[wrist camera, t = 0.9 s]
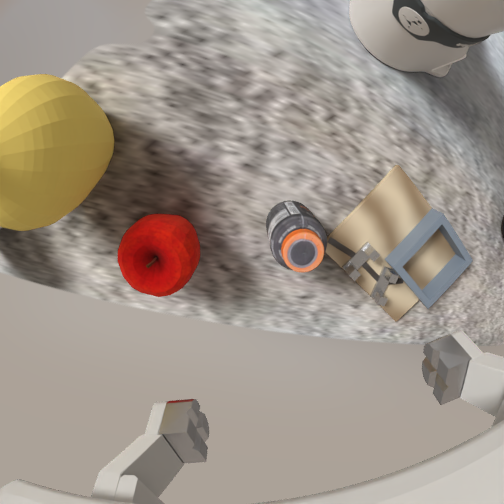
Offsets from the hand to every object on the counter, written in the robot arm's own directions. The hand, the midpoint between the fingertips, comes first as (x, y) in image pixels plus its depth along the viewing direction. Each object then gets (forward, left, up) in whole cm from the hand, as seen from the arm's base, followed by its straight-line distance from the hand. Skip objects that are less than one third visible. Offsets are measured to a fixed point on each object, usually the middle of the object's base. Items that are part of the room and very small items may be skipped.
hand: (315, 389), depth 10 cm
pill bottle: (0, +4, -31) cm, 32 cm away
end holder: (-11, +22, -31) cm, 39 cm away
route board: (-8, +18, -31) cm, 37 cm away
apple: (+11, -6, -31) cm, 34 cm away
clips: (-3, +17, -30) cm, 35 cm away
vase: (+10, -24, -31) cm, 41 cm away
